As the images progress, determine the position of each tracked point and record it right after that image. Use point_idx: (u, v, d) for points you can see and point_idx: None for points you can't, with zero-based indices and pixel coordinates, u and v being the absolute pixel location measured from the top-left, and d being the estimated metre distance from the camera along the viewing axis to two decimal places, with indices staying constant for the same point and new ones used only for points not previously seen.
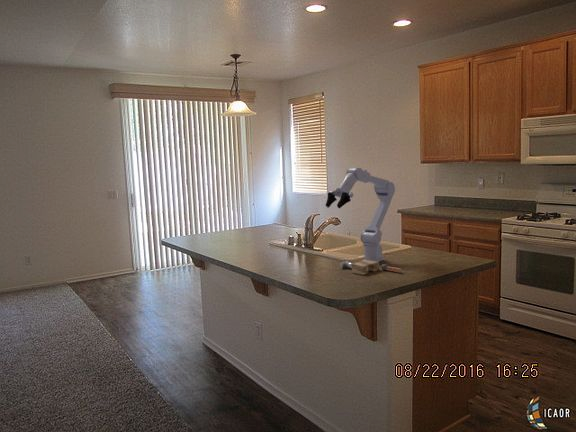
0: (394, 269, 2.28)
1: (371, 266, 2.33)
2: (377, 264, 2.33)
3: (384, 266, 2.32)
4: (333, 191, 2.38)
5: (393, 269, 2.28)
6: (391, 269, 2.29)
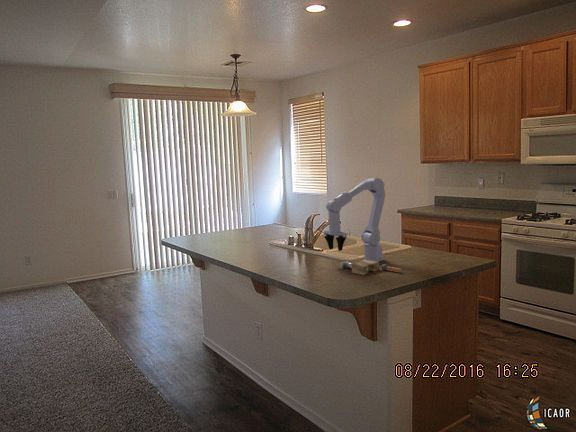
0: (394, 269, 2.28)
1: (371, 266, 2.33)
2: (377, 264, 2.33)
3: (384, 266, 2.32)
4: (327, 233, 2.48)
5: (393, 269, 2.28)
6: (391, 269, 2.29)
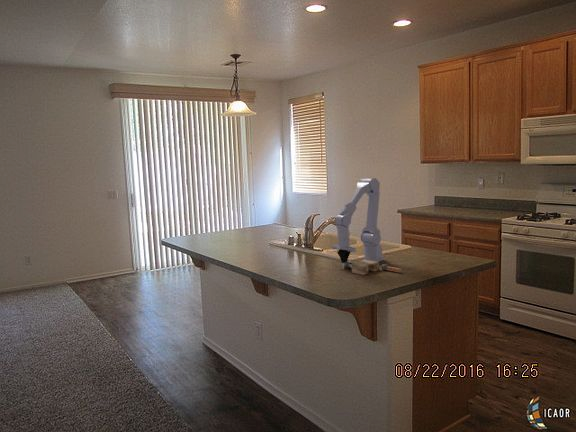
0: (394, 269, 2.28)
1: (371, 266, 2.33)
2: (377, 264, 2.33)
3: (384, 266, 2.32)
4: (335, 247, 2.44)
5: (393, 269, 2.28)
6: (391, 269, 2.29)
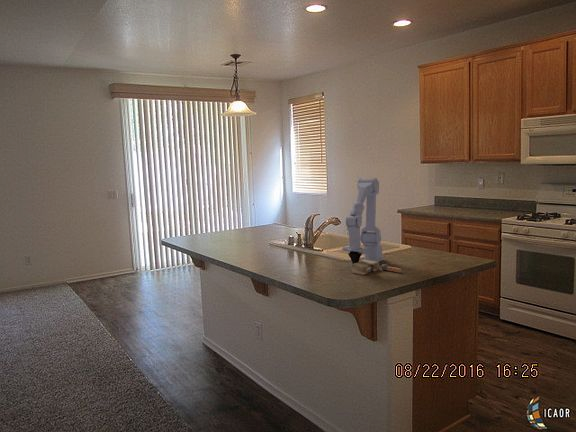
0: (394, 269, 2.28)
1: None
2: (377, 264, 2.33)
3: (384, 266, 2.32)
4: (346, 249, 2.39)
5: (393, 269, 2.28)
6: (391, 269, 2.29)
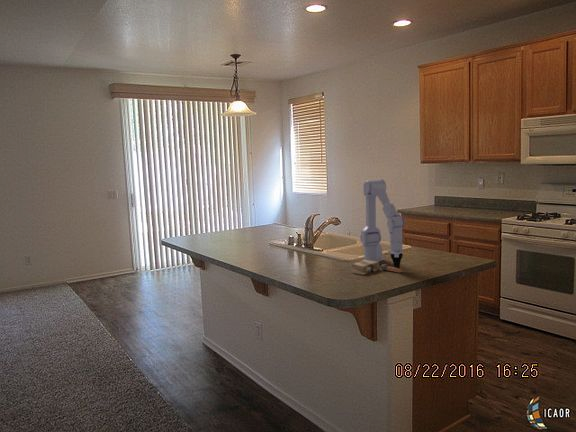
0: (394, 269, 2.28)
1: (371, 266, 2.33)
2: (377, 264, 2.33)
3: (384, 266, 2.32)
4: None
5: (393, 269, 2.28)
6: (391, 269, 2.29)
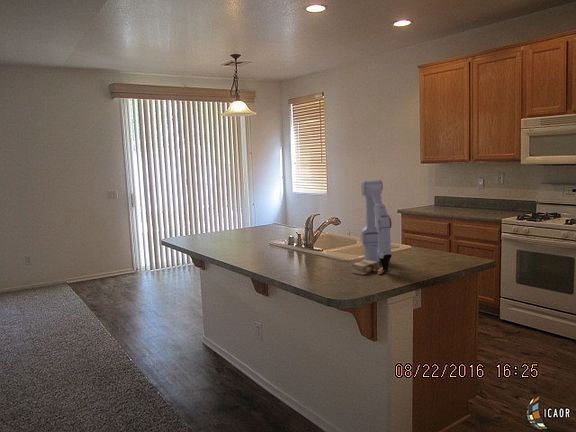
0: None
1: (371, 266, 2.33)
2: (377, 264, 2.33)
3: None
4: None
5: None
6: None
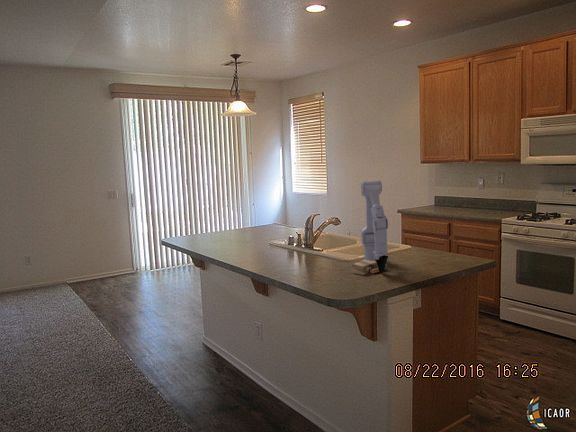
0: None
1: (371, 266, 2.33)
2: None
3: None
4: None
5: None
6: None
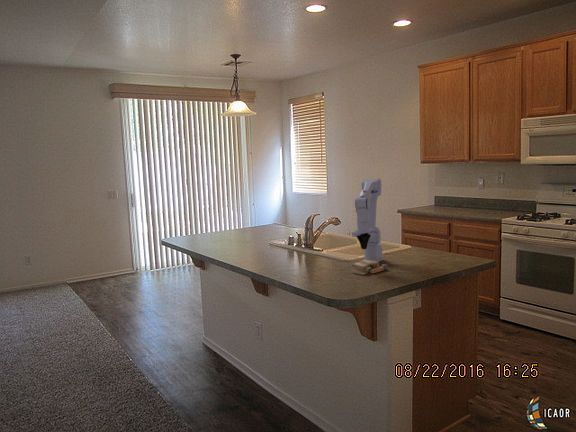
0: None
1: (371, 266, 2.33)
2: (377, 264, 2.33)
3: (382, 265, 2.33)
4: None
5: None
6: None
